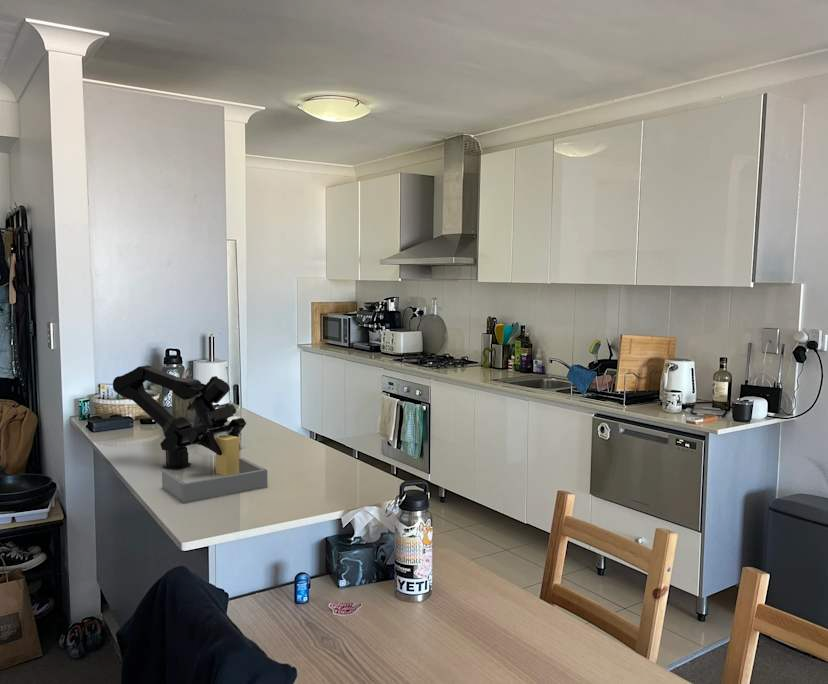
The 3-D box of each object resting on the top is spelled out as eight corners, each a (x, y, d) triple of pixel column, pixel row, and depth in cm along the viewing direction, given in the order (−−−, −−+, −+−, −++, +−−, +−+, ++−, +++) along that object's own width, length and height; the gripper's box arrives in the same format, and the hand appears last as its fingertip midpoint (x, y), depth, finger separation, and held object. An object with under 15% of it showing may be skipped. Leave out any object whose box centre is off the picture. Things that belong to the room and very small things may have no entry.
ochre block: (216, 476, 214) (215, 437, 213) (229, 472, 218) (228, 435, 217) (226, 478, 211) (226, 440, 210) (239, 475, 215) (239, 437, 214)
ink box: (231, 454, 241) (230, 420, 240) (218, 453, 242) (217, 420, 241) (242, 448, 249) (241, 416, 248) (229, 447, 250) (228, 415, 249)
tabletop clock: (194, 433, 273) (192, 370, 271) (171, 433, 273) (169, 370, 271) (205, 425, 287) (204, 365, 285) (184, 425, 288) (182, 365, 285)
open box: (162, 491, 198) (161, 470, 198) (242, 476, 213) (242, 457, 212) (183, 506, 185) (182, 484, 184) (267, 490, 199) (267, 469, 199)
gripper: (192, 400, 207) (216, 442, 201) (242, 392, 222) (265, 431, 216) (177, 423, 212) (200, 464, 207) (226, 414, 227) (249, 452, 222)
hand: (230, 452), depth 213 cm, fingers open, 7 cm apart
